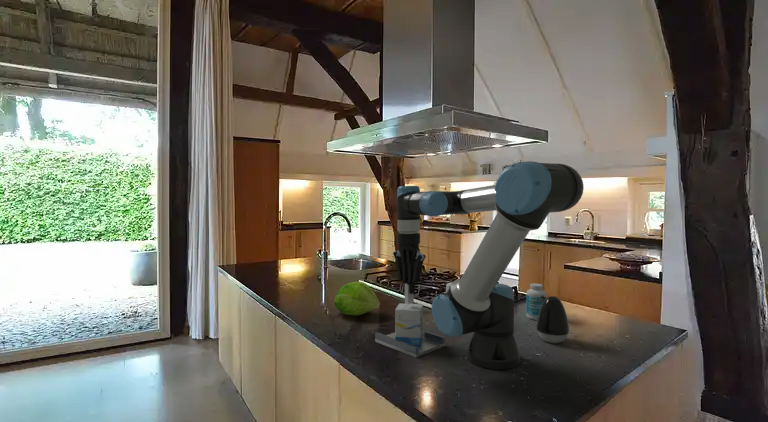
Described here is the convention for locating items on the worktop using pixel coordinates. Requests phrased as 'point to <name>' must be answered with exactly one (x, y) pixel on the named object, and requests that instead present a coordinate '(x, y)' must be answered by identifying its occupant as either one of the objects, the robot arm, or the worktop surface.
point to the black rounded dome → (552, 320)
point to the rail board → (427, 345)
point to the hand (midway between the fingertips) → (409, 302)
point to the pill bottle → (534, 300)
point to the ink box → (409, 323)
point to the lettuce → (356, 299)
